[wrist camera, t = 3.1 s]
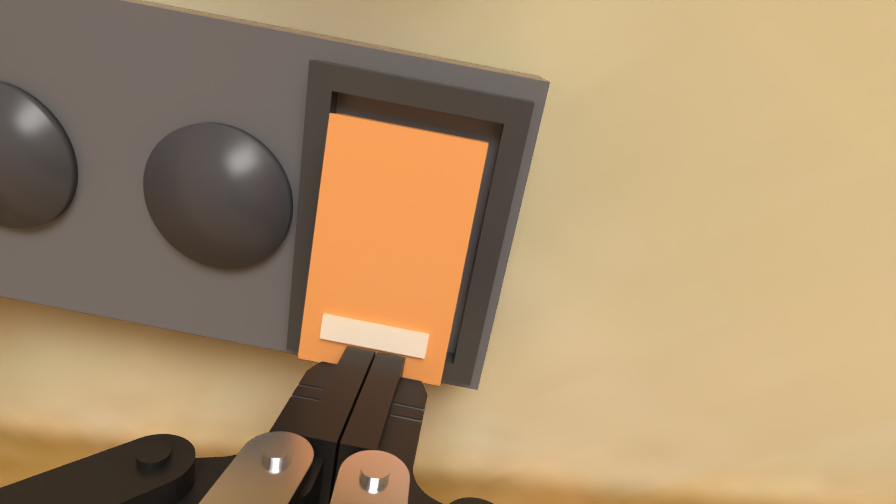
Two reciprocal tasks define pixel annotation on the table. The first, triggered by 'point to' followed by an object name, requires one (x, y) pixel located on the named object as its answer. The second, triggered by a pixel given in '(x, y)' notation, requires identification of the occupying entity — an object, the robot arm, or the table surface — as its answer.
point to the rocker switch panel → (221, 164)
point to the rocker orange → (390, 242)
